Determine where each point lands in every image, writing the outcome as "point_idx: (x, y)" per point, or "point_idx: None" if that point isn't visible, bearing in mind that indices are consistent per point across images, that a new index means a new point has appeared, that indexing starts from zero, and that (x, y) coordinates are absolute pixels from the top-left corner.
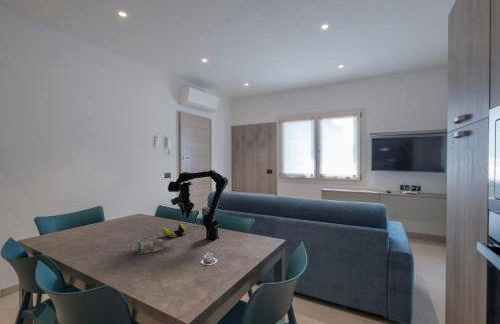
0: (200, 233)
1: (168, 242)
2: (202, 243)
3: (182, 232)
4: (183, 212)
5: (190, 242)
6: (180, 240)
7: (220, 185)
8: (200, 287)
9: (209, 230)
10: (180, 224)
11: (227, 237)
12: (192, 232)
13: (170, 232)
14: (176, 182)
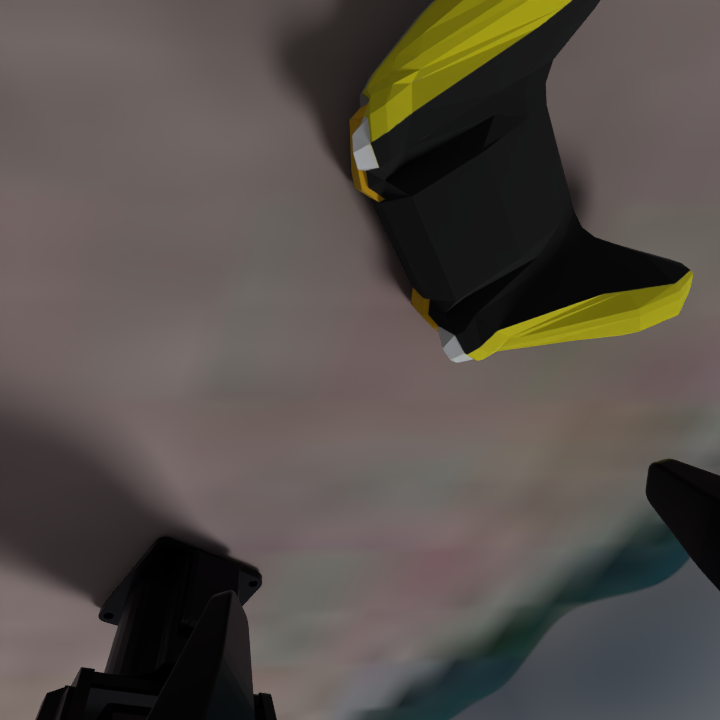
0: (399, 484)
1: (148, 45)
2: (18, 507)
3: (425, 299)
4: (717, 549)
5: (82, 380)
6: (203, 252)
7: None
8: None
9: (43, 701)
10: (656, 296)
11: None
12: (477, 405)
13: (415, 90)
14: None
